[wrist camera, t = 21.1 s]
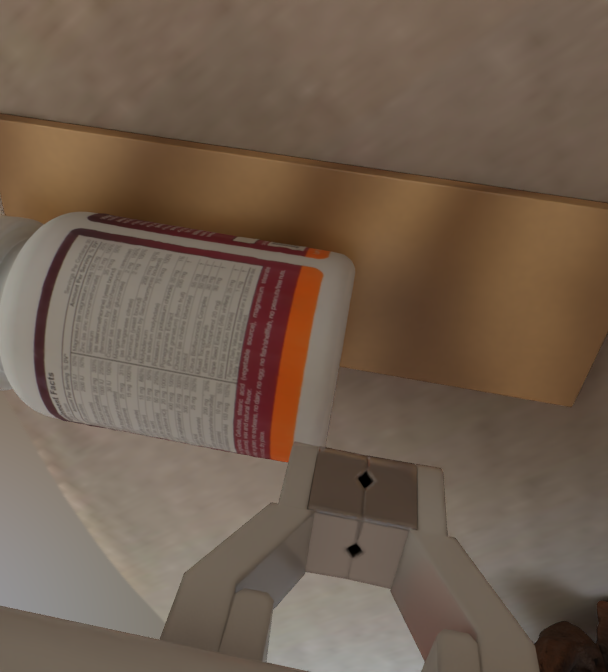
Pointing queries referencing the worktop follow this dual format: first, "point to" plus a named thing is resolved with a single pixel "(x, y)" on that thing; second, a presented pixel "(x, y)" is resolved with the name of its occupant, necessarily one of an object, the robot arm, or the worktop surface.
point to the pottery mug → (574, 646)
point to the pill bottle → (172, 331)
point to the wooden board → (361, 247)
